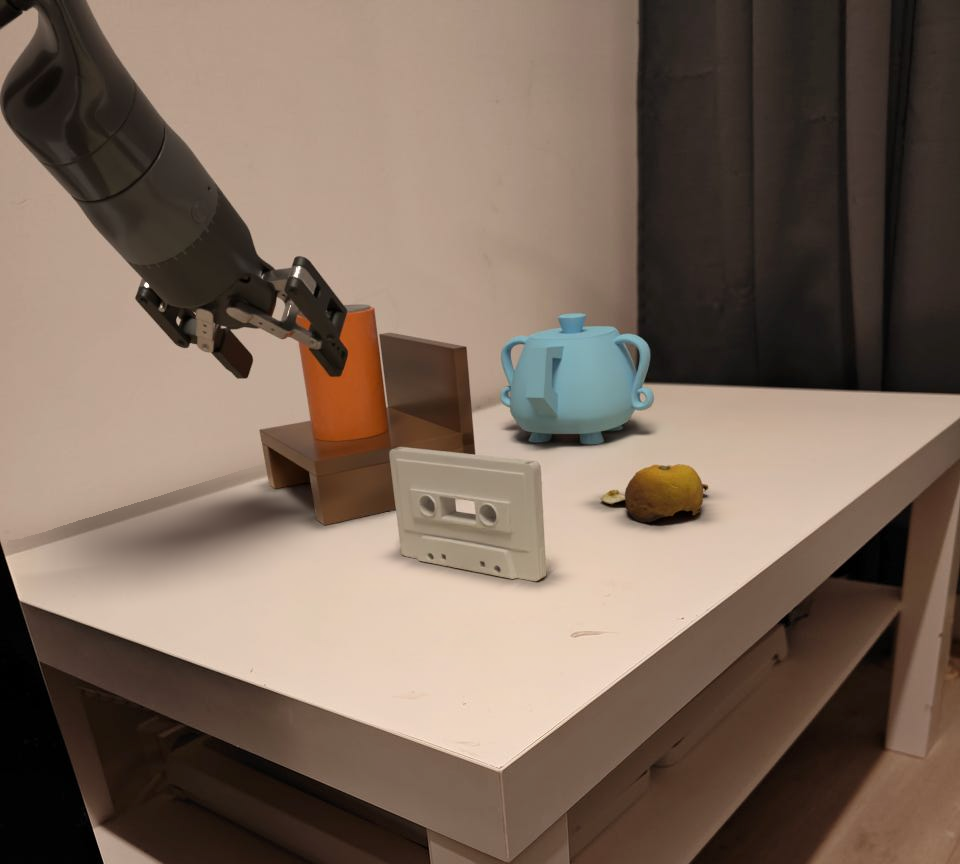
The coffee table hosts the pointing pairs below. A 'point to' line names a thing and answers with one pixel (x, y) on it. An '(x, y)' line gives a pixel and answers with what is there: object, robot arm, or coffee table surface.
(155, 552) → the coffee table surface
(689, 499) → the fruit
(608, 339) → the teapot
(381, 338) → the shelf
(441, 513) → the cassette
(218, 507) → the coffee table surface
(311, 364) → the can
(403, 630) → the coffee table surface
